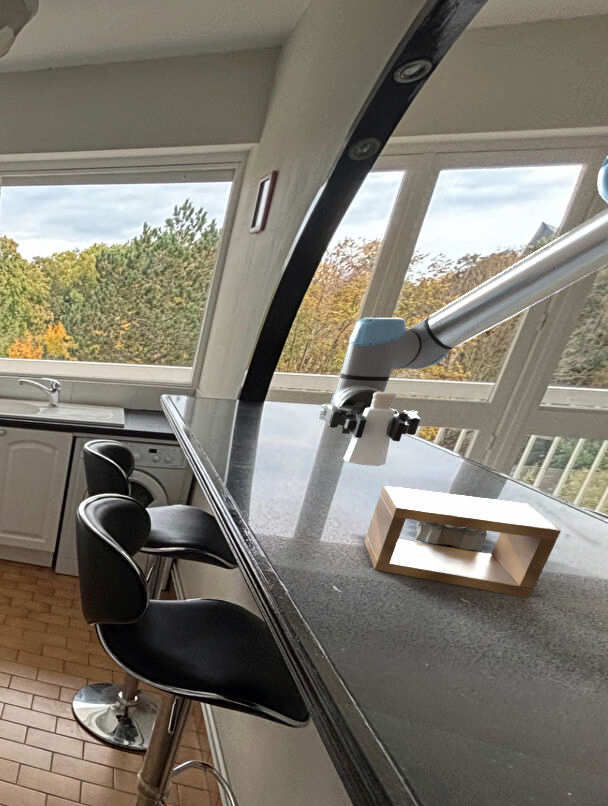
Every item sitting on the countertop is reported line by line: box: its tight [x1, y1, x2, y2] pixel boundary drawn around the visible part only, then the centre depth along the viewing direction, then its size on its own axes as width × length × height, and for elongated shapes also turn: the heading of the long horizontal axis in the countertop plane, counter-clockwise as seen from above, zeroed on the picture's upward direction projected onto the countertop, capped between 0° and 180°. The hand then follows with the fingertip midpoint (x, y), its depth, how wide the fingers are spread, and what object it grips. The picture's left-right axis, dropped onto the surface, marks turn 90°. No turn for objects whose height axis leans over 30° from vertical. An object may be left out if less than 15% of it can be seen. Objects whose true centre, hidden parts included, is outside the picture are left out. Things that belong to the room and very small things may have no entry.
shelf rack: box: [364, 485, 562, 599], centre depth 73 cm, size 14×11×8 cm
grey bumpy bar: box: [415, 520, 488, 552], centre depth 83 cm, size 11×8×4 cm
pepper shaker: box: [342, 391, 397, 467], centre depth 93 cm, size 5×5×11 cm
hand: (379, 430), depth 89 cm, fingers closed on pepper shaker, 4 cm apart
